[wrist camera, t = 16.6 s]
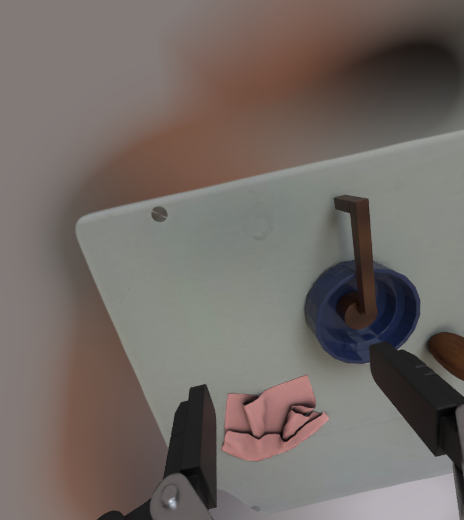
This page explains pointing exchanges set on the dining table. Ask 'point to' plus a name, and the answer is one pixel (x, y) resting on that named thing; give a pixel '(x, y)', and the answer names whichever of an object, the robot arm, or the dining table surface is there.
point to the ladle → (359, 266)
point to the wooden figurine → (449, 352)
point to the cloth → (271, 420)
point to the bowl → (382, 329)
